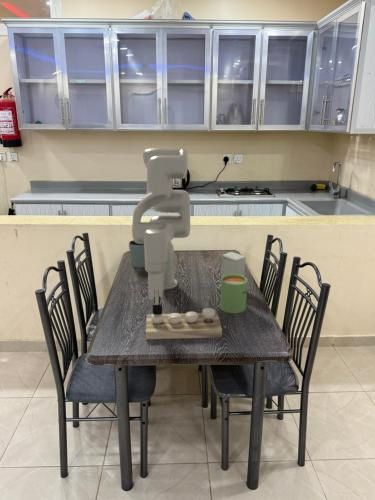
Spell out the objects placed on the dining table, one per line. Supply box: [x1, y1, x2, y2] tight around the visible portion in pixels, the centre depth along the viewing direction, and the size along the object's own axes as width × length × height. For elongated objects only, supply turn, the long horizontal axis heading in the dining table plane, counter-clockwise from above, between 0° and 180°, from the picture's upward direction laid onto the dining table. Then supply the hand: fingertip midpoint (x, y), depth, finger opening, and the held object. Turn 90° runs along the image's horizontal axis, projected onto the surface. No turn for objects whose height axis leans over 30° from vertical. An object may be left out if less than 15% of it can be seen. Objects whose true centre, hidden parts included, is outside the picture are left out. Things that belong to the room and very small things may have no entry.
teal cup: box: [128, 239, 145, 269], centre depth 198 cm, size 10×10×12 cm
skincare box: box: [219, 251, 246, 289], centre depth 171 cm, size 8×7×16 cm
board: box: [145, 312, 223, 340], centre depth 141 cm, size 12×26×3 cm, turn 93°
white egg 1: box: [168, 312, 181, 324], centre depth 140 cm, size 4×4×5 cm
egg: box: [201, 307, 216, 323], centre depth 140 cm, size 4×4×5 cm
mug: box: [219, 274, 248, 314], centre depth 156 cm, size 13×10×12 cm
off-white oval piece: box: [151, 312, 165, 325], centre depth 139 cm, size 4×4×5 cm
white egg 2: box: [184, 311, 199, 324], centre depth 140 cm, size 4×4×5 cm
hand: (157, 313), depth 139 cm, fingers closed
